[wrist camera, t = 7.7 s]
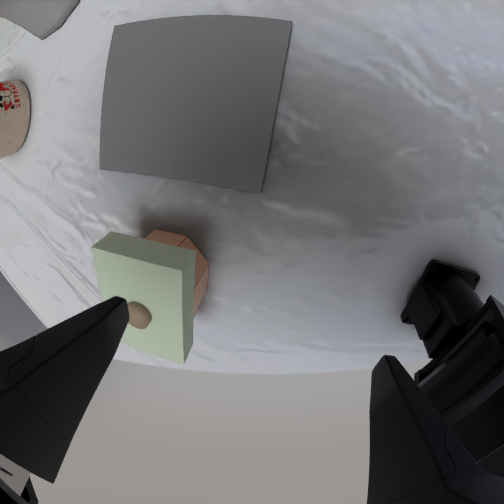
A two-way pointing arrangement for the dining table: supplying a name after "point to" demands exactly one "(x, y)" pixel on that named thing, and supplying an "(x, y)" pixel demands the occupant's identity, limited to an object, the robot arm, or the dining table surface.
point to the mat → (194, 98)
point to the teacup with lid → (13, 116)
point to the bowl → (200, 261)
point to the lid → (150, 292)
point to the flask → (37, 14)
